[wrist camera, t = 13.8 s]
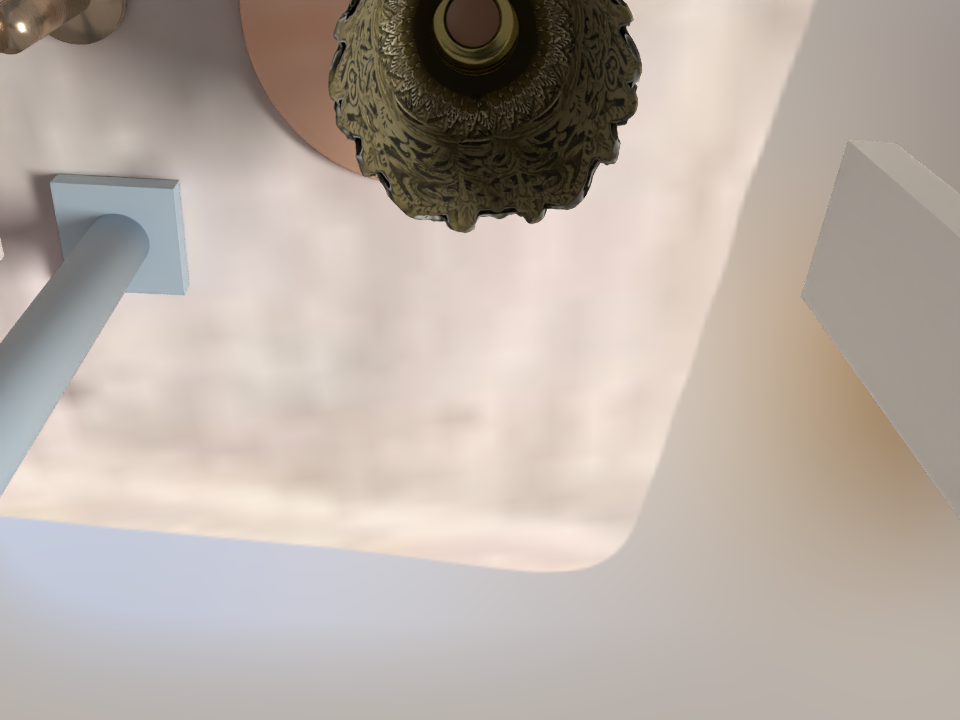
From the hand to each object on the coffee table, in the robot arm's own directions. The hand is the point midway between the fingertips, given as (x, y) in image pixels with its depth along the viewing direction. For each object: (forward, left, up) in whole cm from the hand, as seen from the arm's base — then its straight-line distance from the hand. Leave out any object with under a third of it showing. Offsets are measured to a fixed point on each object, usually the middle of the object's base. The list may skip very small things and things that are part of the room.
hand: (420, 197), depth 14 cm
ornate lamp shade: (+1, +2, -17) cm, 17 cm away
